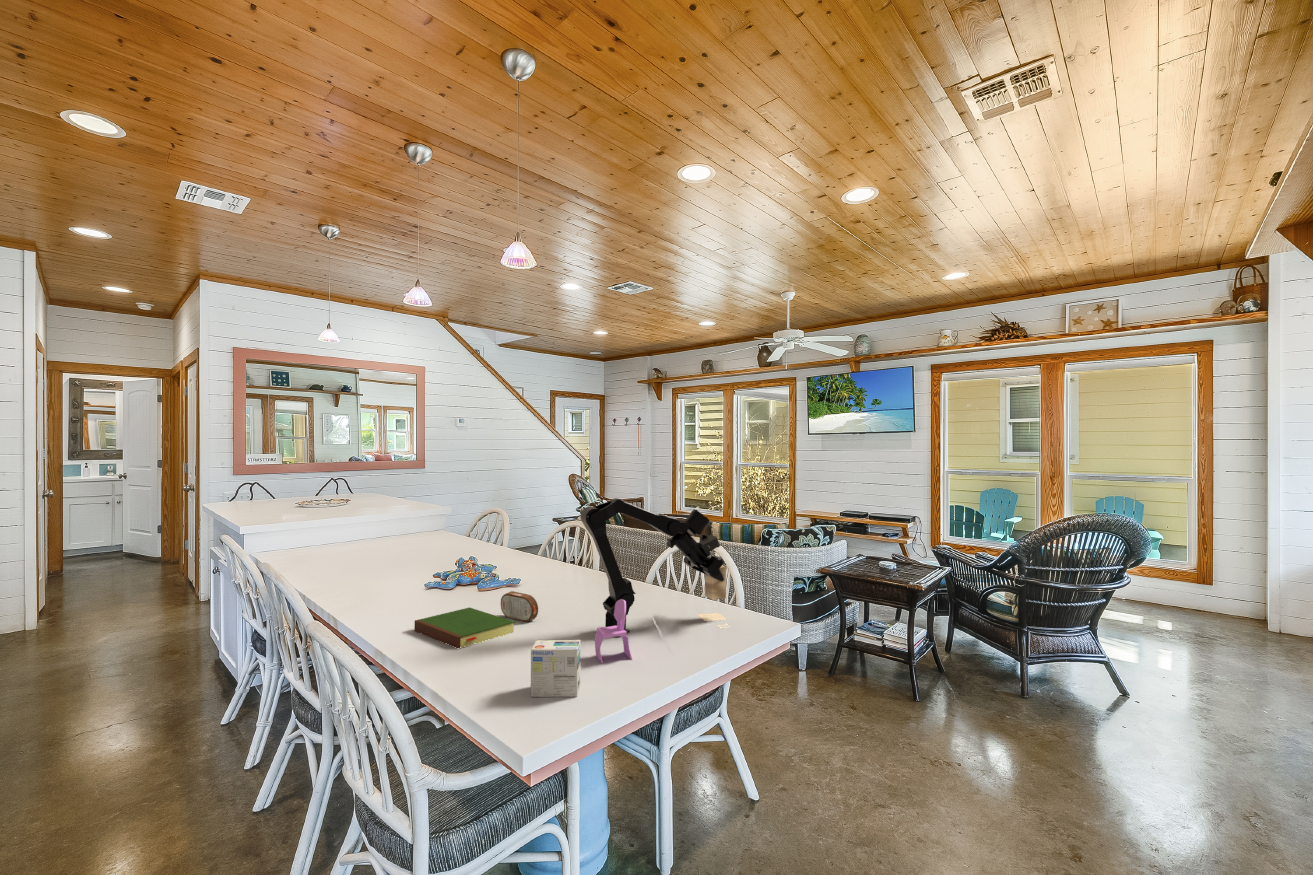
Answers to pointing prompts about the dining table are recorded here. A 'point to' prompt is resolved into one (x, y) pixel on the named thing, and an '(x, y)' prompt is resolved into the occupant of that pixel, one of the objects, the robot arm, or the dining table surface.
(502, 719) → the dining table surface
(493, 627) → the hardcover book
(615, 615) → the toy chair
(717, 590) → the maple block
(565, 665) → the light bulb box
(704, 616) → the slate board
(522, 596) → the tin
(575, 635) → the dining table surface
